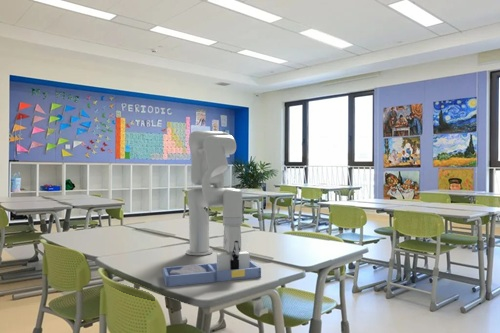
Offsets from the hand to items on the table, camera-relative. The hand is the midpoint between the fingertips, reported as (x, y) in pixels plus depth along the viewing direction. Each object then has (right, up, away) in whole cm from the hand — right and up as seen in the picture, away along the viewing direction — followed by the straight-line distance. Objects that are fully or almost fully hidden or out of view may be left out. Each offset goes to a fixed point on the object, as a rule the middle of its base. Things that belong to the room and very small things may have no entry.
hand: (233, 268), depth 149 cm
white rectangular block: (0, -1, 0) cm, 1 cm away
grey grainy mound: (-16, -3, -6) cm, 17 cm away
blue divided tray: (-8, -2, -3) cm, 9 cm away
